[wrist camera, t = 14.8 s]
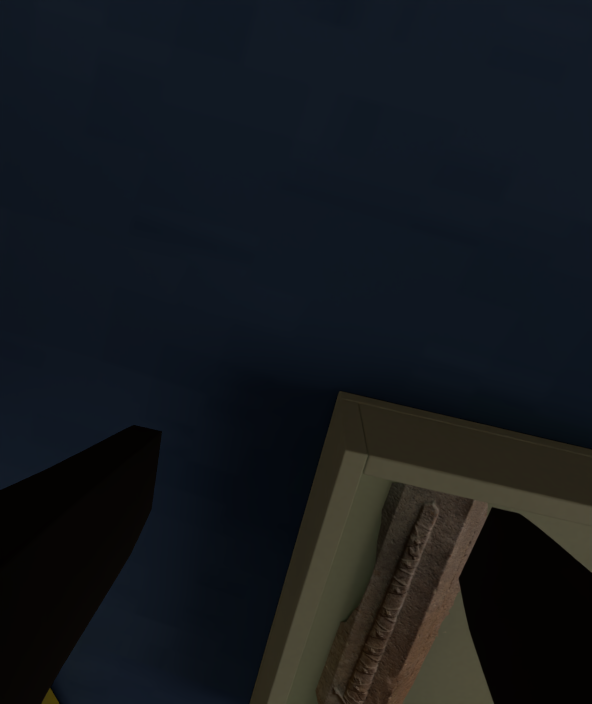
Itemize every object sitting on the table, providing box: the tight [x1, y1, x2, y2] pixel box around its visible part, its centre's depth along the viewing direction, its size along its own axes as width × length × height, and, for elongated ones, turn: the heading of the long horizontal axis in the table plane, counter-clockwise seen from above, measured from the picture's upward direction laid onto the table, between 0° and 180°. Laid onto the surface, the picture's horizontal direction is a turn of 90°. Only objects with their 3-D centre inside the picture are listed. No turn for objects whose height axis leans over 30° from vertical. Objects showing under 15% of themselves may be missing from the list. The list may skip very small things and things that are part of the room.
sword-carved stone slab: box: [315, 483, 488, 704], centre depth 21 cm, size 18×3×4 cm
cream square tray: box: [250, 391, 592, 704], centre depth 20 cm, size 22×22×5 cm
